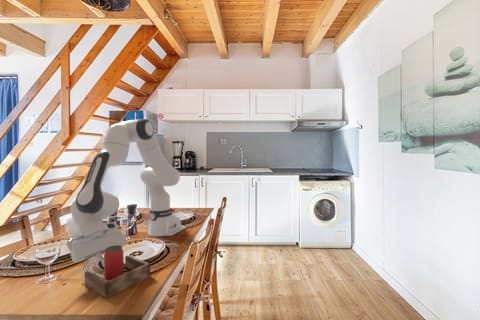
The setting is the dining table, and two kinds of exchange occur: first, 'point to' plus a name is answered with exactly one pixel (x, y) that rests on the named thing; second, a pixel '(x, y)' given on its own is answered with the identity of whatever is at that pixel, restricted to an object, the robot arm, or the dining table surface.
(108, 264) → the beer can
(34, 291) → the dining table surface
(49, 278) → the dining table surface
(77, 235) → the white cup
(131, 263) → the walnut corral
